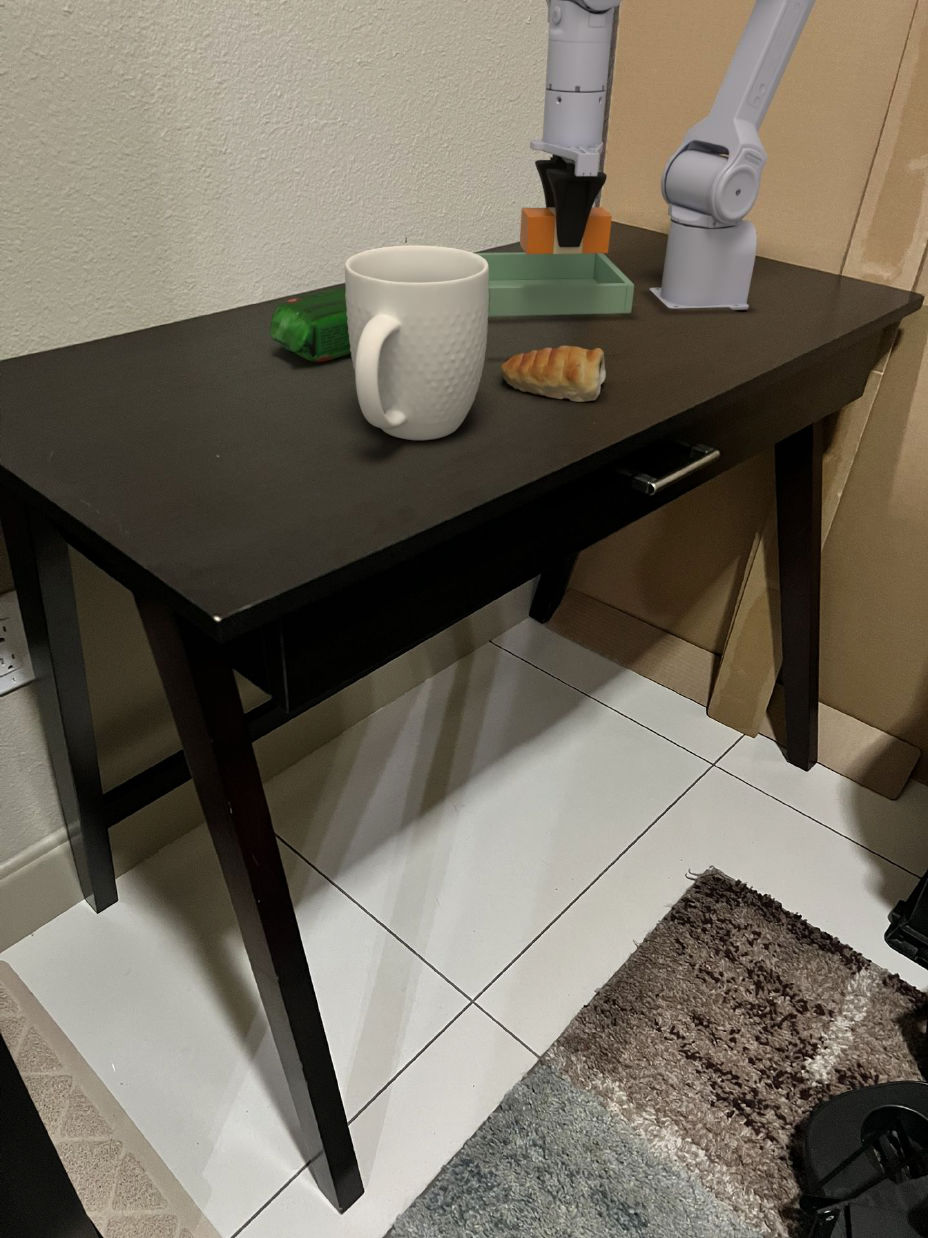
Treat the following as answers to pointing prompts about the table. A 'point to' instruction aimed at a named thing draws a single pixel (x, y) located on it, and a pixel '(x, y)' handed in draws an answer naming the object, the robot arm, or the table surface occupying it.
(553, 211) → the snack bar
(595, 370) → the pastry
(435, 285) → the mug
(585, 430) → the table surface
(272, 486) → the table surface
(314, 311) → the snack package
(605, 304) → the tub
